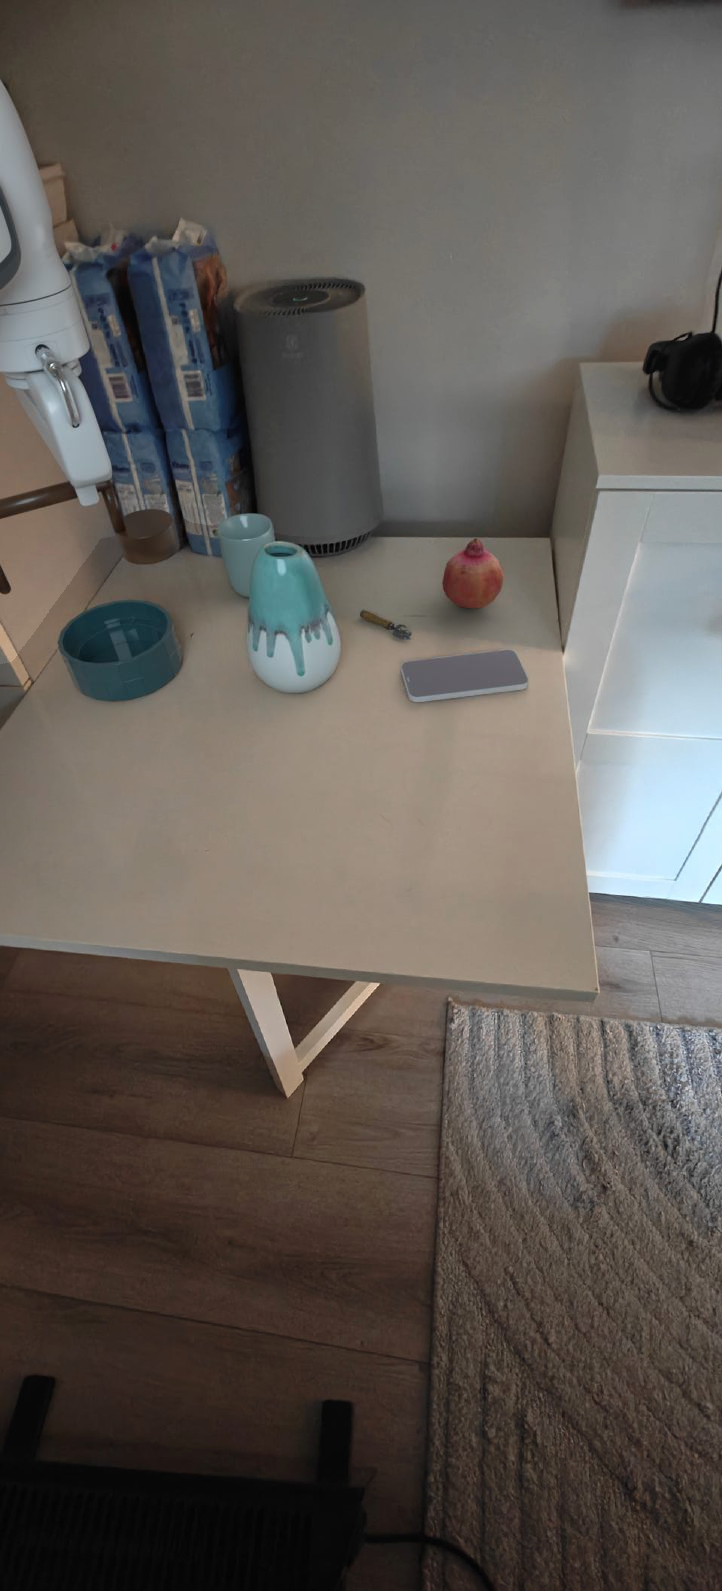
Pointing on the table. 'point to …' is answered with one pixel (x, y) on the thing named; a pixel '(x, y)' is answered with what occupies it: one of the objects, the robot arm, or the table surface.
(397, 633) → the can opener
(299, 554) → the vase
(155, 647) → the bowl
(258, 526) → the cup
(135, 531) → the ladle
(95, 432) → the robot arm
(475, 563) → the fruit
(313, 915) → the table surface
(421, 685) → the smartphone
